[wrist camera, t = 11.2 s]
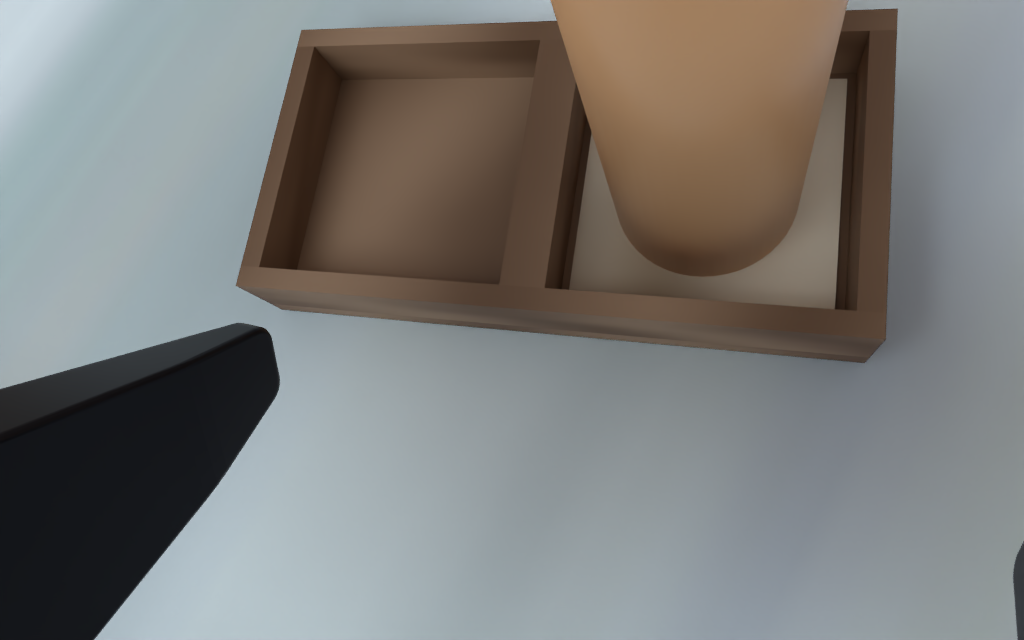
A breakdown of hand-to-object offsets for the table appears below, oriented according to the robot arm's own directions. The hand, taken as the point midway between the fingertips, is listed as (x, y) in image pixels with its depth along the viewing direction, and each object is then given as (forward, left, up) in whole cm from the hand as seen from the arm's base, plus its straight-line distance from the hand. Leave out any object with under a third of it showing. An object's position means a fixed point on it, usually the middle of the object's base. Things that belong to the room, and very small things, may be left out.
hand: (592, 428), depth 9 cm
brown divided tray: (+7, -1, -8) cm, 10 cm away
